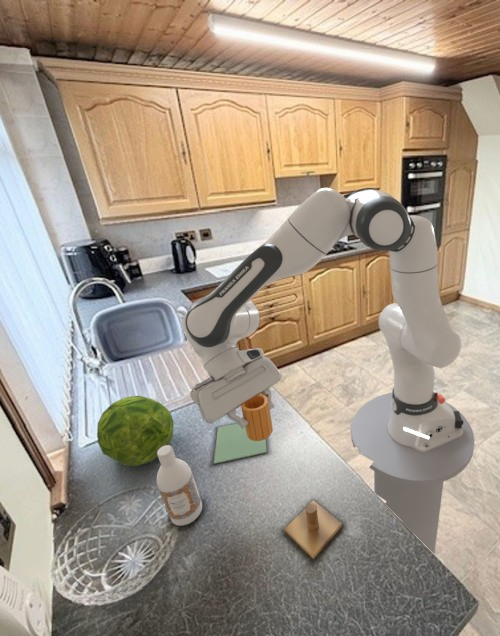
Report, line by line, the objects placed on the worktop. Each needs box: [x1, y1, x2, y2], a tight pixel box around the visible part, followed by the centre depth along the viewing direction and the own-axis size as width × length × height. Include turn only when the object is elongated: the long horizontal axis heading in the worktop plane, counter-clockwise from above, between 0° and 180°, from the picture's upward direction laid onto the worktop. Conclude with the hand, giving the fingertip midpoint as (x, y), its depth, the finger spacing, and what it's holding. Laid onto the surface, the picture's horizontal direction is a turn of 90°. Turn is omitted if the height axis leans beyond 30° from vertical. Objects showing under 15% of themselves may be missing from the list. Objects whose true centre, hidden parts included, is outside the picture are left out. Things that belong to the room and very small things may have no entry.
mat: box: [213, 423, 268, 465], centre depth 101 cm, size 14×14×1 cm
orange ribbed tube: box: [240, 394, 274, 441], centre depth 81 cm, size 6×6×9 cm
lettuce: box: [96, 395, 174, 467], centre depth 96 cm, size 17×23×17 cm
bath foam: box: [156, 444, 203, 527], centre depth 77 cm, size 7×7×20 cm
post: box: [283, 499, 343, 560], centre depth 75 cm, size 9×9×7 cm
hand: (258, 417), depth 81 cm, fingers closed on orange ribbed tube, 6 cm apart
